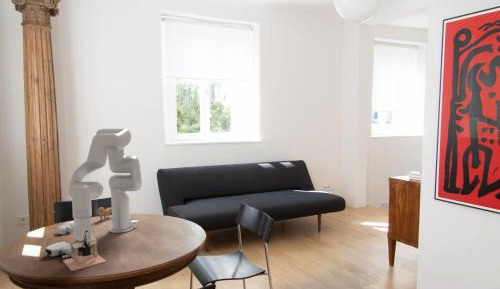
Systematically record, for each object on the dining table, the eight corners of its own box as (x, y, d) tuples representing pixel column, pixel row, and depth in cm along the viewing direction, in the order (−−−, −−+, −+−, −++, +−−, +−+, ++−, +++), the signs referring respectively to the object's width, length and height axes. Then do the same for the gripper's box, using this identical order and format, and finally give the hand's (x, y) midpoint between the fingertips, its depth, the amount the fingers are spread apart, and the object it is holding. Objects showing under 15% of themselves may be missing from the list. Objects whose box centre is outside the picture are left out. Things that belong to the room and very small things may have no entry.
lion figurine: (103, 222, 222) (103, 208, 221) (95, 222, 223) (95, 207, 222) (117, 216, 236) (116, 202, 235) (110, 215, 237) (109, 202, 236)
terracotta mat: (95, 253, 171) (95, 252, 171) (106, 262, 160) (106, 261, 160) (62, 261, 162) (62, 260, 162) (71, 271, 151) (71, 269, 151)
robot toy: (85, 254, 172) (62, 248, 178) (85, 245, 172) (62, 239, 177) (63, 264, 161) (39, 257, 167) (63, 254, 161) (39, 247, 166)
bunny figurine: (50, 228, 198) (69, 217, 213) (51, 237, 199) (70, 225, 214) (65, 229, 196) (83, 218, 211) (67, 238, 197) (84, 226, 212)
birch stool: (71, 259, 160) (70, 241, 160) (93, 254, 166) (92, 236, 166) (75, 262, 156) (74, 244, 155) (97, 257, 161) (96, 239, 161)
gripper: (67, 211, 164) (69, 250, 165) (78, 219, 151) (80, 261, 152) (85, 208, 169) (87, 246, 170) (97, 215, 155) (99, 257, 157)
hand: (84, 253), depth 161 cm, fingers open, 6 cm apart
